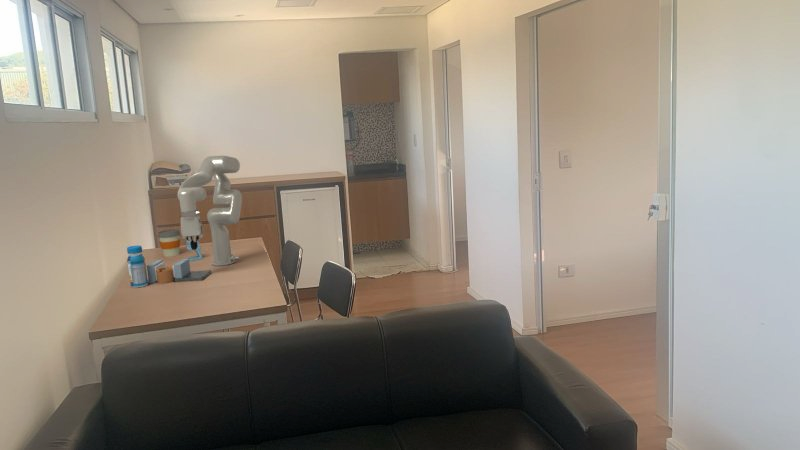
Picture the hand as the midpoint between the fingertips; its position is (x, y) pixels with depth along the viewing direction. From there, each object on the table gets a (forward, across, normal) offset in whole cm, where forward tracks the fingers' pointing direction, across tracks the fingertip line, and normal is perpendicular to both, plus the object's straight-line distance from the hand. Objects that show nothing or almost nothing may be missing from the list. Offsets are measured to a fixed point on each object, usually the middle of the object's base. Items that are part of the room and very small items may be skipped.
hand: (194, 248), depth 319 cm
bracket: (+15, +14, +3) cm, 21 cm away
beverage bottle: (+14, +26, +13) cm, 32 cm away
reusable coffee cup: (+18, +37, -63) cm, 75 cm away
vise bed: (+15, +2, +2) cm, 15 cm away
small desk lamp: (+17, +17, -46) cm, 52 cm away
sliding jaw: (+13, +7, +2) cm, 15 cm away
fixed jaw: (+14, +21, +2) cm, 25 cm away
